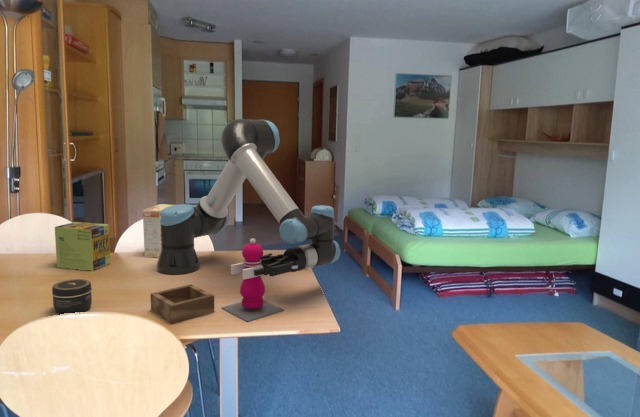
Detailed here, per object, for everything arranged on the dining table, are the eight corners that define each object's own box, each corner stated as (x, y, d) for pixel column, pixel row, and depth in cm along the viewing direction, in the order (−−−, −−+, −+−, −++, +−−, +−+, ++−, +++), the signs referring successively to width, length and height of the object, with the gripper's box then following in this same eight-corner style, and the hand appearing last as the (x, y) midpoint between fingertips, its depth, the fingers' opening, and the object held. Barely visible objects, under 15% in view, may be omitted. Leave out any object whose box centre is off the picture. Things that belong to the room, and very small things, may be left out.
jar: (65, 302, 144) (64, 278, 142) (99, 303, 143) (97, 279, 142) (45, 315, 134) (44, 289, 132) (81, 316, 133) (79, 290, 132)
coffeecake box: (161, 248, 209) (159, 203, 206) (176, 249, 208) (175, 204, 205) (143, 257, 194) (141, 209, 191) (160, 258, 193) (158, 210, 190)
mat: (221, 308, 142) (221, 307, 142) (257, 298, 151) (257, 297, 151) (247, 322, 133) (247, 320, 133) (283, 310, 142) (284, 309, 141)
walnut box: (151, 310, 139) (150, 293, 139) (191, 299, 148) (191, 284, 148) (172, 323, 130) (171, 306, 129) (214, 312, 139) (214, 295, 138)
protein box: (93, 271, 174) (91, 229, 172) (56, 268, 177) (53, 226, 175) (111, 263, 184) (109, 223, 182) (76, 260, 187) (73, 221, 185)
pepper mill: (269, 302, 144) (269, 237, 140) (258, 311, 137) (258, 242, 134) (247, 299, 146) (247, 234, 143) (235, 307, 139) (235, 239, 136)
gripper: (319, 276, 146) (256, 293, 130) (281, 263, 159) (220, 277, 143) (319, 252, 145) (256, 266, 129) (281, 241, 158) (219, 252, 142)
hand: (237, 272), depth 136 cm, fingers closed on pepper mill, 5 cm apart
